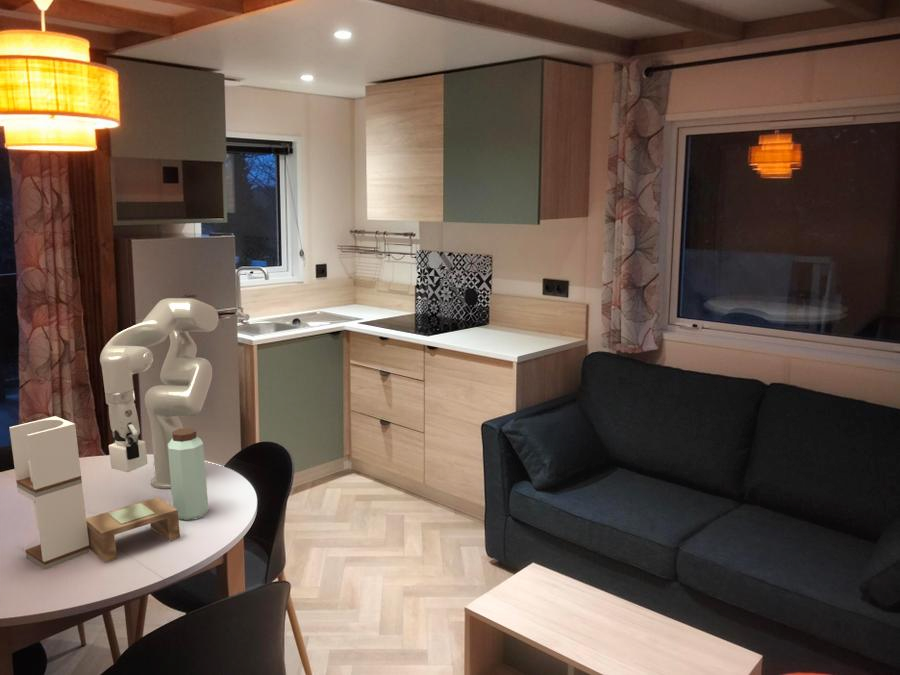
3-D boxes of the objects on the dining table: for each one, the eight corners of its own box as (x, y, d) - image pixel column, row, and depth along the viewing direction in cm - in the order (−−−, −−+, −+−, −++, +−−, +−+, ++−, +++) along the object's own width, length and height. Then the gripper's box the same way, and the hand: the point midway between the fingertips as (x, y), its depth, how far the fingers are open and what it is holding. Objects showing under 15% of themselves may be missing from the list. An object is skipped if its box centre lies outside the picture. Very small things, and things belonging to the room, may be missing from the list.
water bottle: (216, 513, 230) (209, 430, 225) (184, 524, 223) (176, 439, 218) (198, 504, 237) (191, 423, 232) (166, 514, 230) (158, 432, 224)
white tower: (70, 541, 214) (55, 416, 207) (89, 552, 207) (75, 423, 200) (26, 557, 205) (9, 427, 198) (45, 569, 199) (28, 435, 192)
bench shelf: (161, 523, 224) (158, 496, 222) (180, 537, 215) (177, 508, 214) (87, 547, 210) (84, 517, 209) (104, 562, 202) (101, 532, 200)
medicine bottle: (148, 464, 231) (143, 424, 228) (127, 473, 225) (122, 432, 222) (131, 459, 234) (126, 421, 231) (110, 468, 228) (105, 428, 225)
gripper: (146, 399, 220) (152, 458, 224) (121, 387, 233) (127, 443, 237) (118, 406, 215) (126, 466, 219) (94, 392, 228) (102, 449, 232)
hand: (127, 453), depth 228 cm, fingers closed on medicine bottle, 8 cm apart
